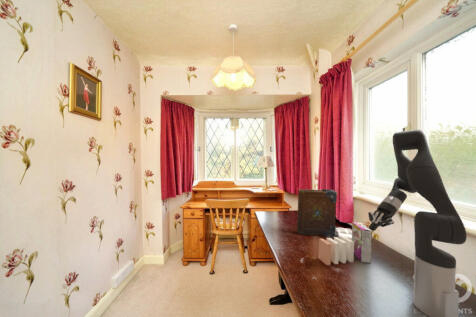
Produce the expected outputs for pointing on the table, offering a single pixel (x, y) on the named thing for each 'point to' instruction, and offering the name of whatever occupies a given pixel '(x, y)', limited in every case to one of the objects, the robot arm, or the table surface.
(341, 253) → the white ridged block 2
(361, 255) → the candy bar box
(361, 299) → the table surface
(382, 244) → the table surface
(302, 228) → the decorative book
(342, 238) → the domino
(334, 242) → the domino
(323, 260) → the domino
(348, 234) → the white brass knuckles
